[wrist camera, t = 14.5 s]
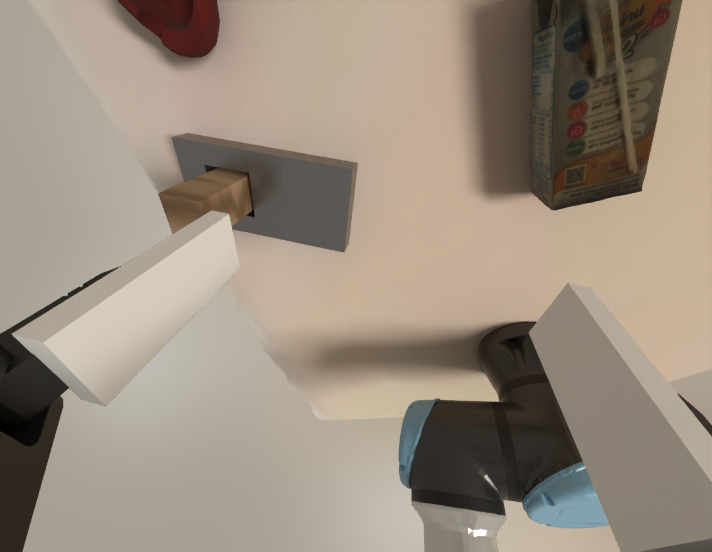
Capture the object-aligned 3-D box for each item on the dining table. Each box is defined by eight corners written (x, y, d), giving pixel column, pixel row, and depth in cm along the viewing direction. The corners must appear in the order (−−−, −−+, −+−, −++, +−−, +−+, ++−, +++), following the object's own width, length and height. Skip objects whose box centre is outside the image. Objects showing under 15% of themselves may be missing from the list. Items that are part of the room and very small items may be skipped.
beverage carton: (649, -72, 20) (729, -124, 15) (610, 176, 30) (649, 197, 25) (529, -14, 23) (560, -41, 18) (529, 195, 33) (549, 217, 27)
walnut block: (260, 204, 41) (211, 242, 31) (230, 198, 41) (172, 233, 32) (256, 171, 38) (200, 201, 28) (223, 165, 38) (158, 193, 29)
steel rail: (348, 242, 41) (344, 252, 39) (208, 213, 44) (196, 221, 41) (357, 163, 34) (352, 169, 32) (188, 133, 36) (171, 136, 34)
